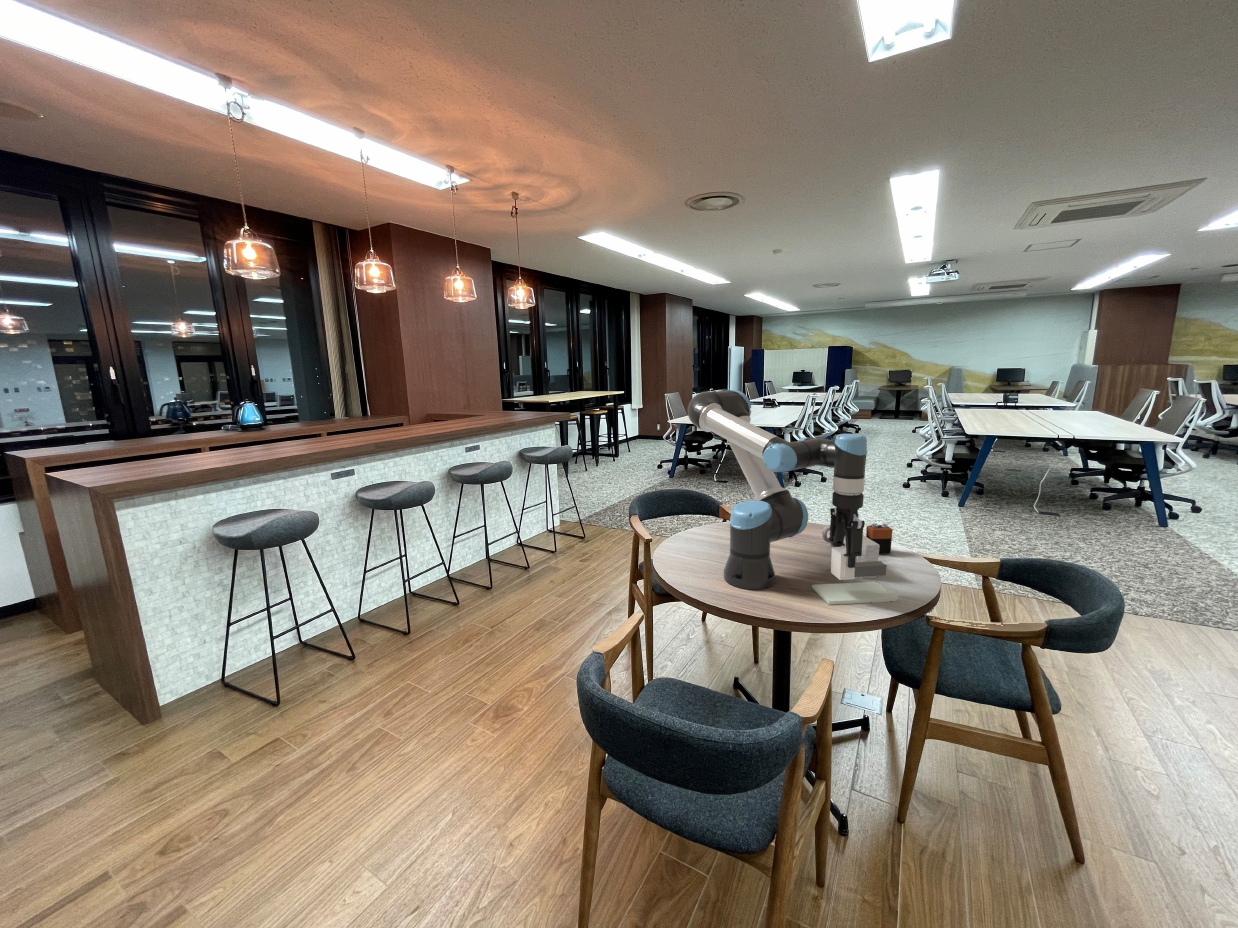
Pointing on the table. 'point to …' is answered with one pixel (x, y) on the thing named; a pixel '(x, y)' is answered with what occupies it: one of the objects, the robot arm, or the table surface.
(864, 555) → the grey arch block
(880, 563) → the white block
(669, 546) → the table surface
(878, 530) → the battery
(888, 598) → the mat
